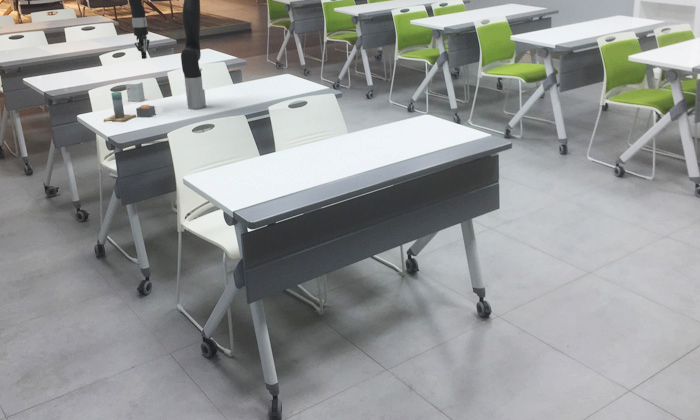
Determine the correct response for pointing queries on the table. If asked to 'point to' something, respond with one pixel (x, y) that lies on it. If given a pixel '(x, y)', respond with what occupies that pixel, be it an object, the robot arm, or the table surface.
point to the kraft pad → (124, 119)
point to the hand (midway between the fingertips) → (144, 58)
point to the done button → (145, 106)
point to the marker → (118, 104)
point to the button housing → (145, 111)
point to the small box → (135, 91)
